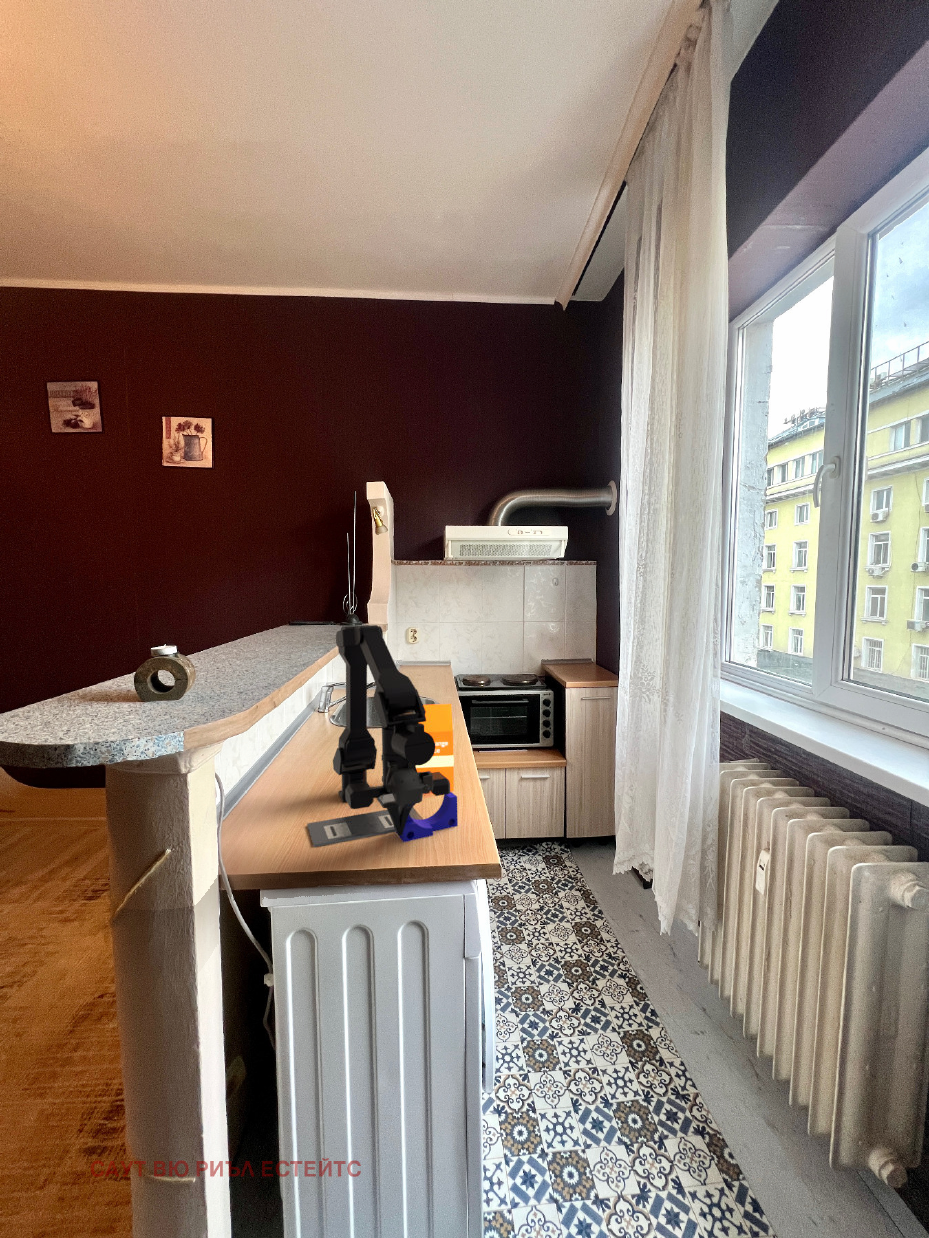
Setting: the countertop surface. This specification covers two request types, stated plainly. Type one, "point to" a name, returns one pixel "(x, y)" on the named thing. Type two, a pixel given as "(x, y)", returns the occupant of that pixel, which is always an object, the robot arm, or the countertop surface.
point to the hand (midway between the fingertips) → (399, 834)
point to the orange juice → (440, 741)
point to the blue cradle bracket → (432, 821)
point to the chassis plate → (353, 827)
